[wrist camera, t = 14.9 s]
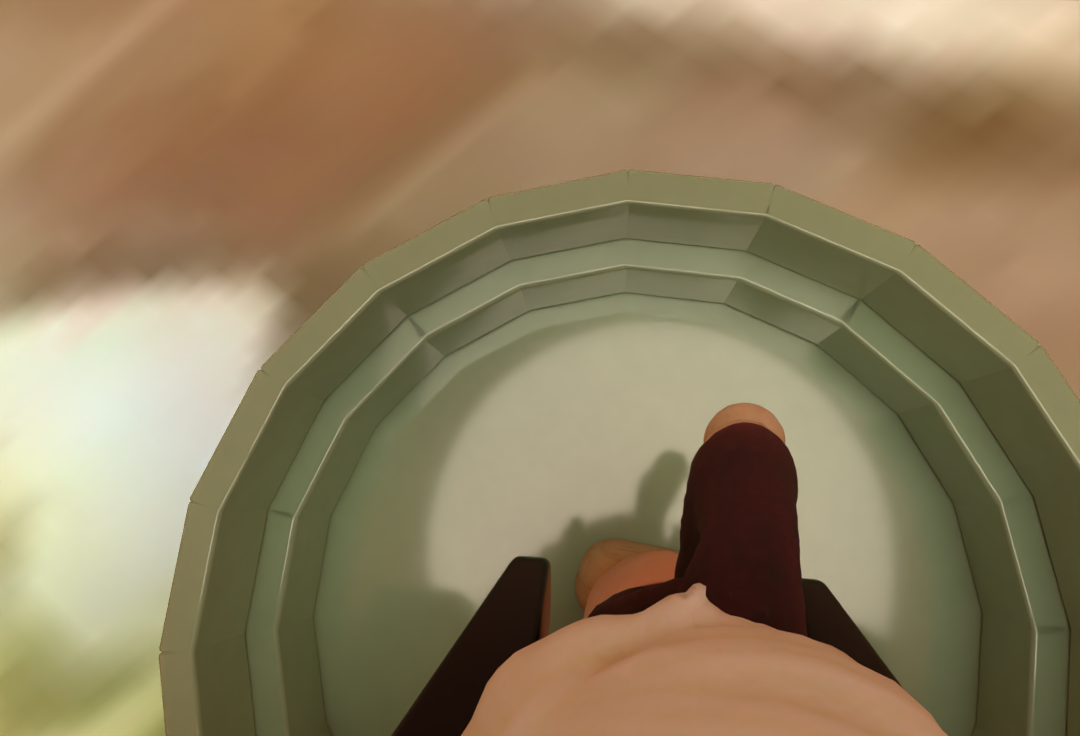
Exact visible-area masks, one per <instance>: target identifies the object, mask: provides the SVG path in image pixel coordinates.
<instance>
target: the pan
mask: <svg viewBox="0 0 1080 736" xmlns="http://www.w3.org/2000/svg"><path fill="white" fill-rule="evenodd" d="M1038 345H1039V343H1038V341H1037V340H1035V339H1034V338H1033V337H1032V336H1031V335H1029V334H1028V333H1027V332H1026V331H1024V330H1023V329H1022V328H1021V327H1019V326H1018V325H1017V324H1016V323H1015V322H1013V321H1012V320H1011V319H1010V318H1008V317H1007V316H1006V315H1005V314H1003V313H1002V312H1001V311H1000V310H999V309H997V308H996V307H995V306H994V305H992V304H991V303H990V302H989V301H987V300H986V299H985V298H984V297H983V296H981V295H980V294H979V293H978V292H976V291H975V290H974V289H973V288H972V287H970V286H969V285H968V284H967V283H965V282H964V281H963V280H962V279H960V278H959V277H958V276H957V275H956V274H954V273H953V272H952V271H951V270H949V269H948V268H947V267H946V266H944V265H943V264H942V263H941V262H940V261H938V260H937V259H936V258H935V257H933V256H932V255H931V254H930V253H929V252H927V251H926V250H925V249H924V248H922V247H921V246H920V245H917V244H916V245H915V242H914V241H912V240H910V239H907V238H905V237H902V236H900V235H897V234H895V233H893V232H890V231H888V230H885V229H883V228H880V227H878V226H876V225H873V224H871V223H868V222H866V221H864V220H861V219H859V218H856V217H854V216H851V215H849V214H847V213H844V212H842V211H839V210H837V209H834V208H832V207H830V206H827V205H825V204H822V203H820V202H817V201H815V200H813V199H810V198H808V197H805V196H803V195H801V194H798V193H796V192H793V191H791V190H788V189H786V188H784V187H781V186H779V185H775V186H774V184H772V183H762V182H752V181H741V180H731V179H721V178H711V177H701V176H691V175H680V174H670V173H660V172H650V171H640V170H628V172H627V171H626V170H623V171H618V172H613V173H608V174H603V175H598V176H593V177H588V178H584V179H579V180H574V181H569V182H564V183H559V184H554V185H549V186H544V187H539V188H534V189H529V190H524V191H519V192H514V193H509V194H504V195H499V196H494V197H490V198H488V200H486V199H485V200H482V201H480V202H478V203H476V204H475V205H473V206H471V207H469V208H467V209H465V210H463V211H462V212H460V213H458V214H456V215H454V216H452V217H451V218H449V219H447V220H445V221H443V222H441V223H439V224H438V225H436V226H434V227H432V228H430V229H428V230H426V231H425V232H423V233H421V234H419V235H417V236H415V237H413V238H412V239H410V240H408V241H406V242H404V243H402V244H400V245H399V246H397V247H395V248H393V249H391V250H389V251H388V252H386V253H384V254H382V255H380V256H378V257H376V258H375V259H373V260H371V261H369V262H367V263H365V264H364V265H363V268H359V269H358V270H357V271H356V272H355V273H354V274H353V275H352V276H351V277H350V278H349V279H348V280H347V281H346V282H345V283H344V284H343V285H342V286H341V287H340V288H339V289H338V290H337V291H336V292H335V293H334V294H333V295H332V296H331V297H330V298H329V299H328V300H327V301H326V302H325V303H324V304H323V305H322V306H321V307H320V308H319V309H318V310H317V311H316V312H315V313H314V314H313V315H312V316H311V317H310V318H309V319H308V320H307V321H306V322H305V323H304V324H303V325H302V326H301V327H300V328H299V329H298V330H297V331H296V332H295V333H294V334H293V335H292V336H291V337H290V338H289V339H288V340H287V341H286V342H285V343H284V344H283V345H282V346H281V347H280V348H279V349H278V350H277V351H276V352H275V353H274V354H273V355H272V356H271V357H270V358H269V359H268V361H267V362H266V363H265V364H264V365H263V366H262V367H261V369H262V370H258V371H257V373H256V375H255V377H254V379H253V381H252V382H251V384H250V386H249V388H248V390H247V392H246V394H245V396H244V397H243V399H242V401H241V403H240V405H239V407H238V409H237V411H236V413H235V414H234V416H233V418H232V420H231V422H230V424H229V426H228V428H227V429H226V431H225V433H224V435H223V437H222V439H221V441H220V443H219V445H218V446H217V448H216V450H215V452H214V454H213V456H212V458H211V460H210V461H209V463H208V465H207V467H206V469H205V471H204V473H203V475H202V477H201V478H200V480H199V482H198V484H197V486H196V488H195V490H194V492H193V494H192V495H191V497H190V500H191V502H190V503H189V505H188V509H187V514H186V519H185V524H184V529H183V534H182V539H181V544H180V549H179V554H178V559H177V564H176V569H175V574H174V579H173V583H172V588H171V593H170V598H169V603H168V608H167V613H166V618H165V623H164V628H163V633H162V638H161V643H160V651H161V653H160V655H159V664H160V675H161V686H162V698H163V709H164V721H165V732H166V736H391V735H392V733H393V732H394V730H395V729H396V727H397V726H398V725H399V723H400V722H401V720H402V719H403V717H404V716H405V714H406V713H407V711H408V710H409V709H410V707H411V706H412V704H413V703H414V701H415V700H416V698H417V697H418V696H419V694H420V693H421V691H422V690H423V688H424V687H425V685H426V684H427V682H428V681H429V680H430V678H431V677H432V675H433V674H434V672H435V671H436V669H437V668H438V666H439V665H440V664H441V662H442V661H443V659H444V658H445V656H446V655H447V653H448V652H449V651H450V649H451V648H452V646H453V645H454V643H455V642H456V640H457V639H458V637H459V636H460V635H461V633H462V632H463V630H464V629H465V627H466V626H467V624H468V623H469V622H470V620H471V619H472V617H473V616H474V614H475V613H476V611H477V610H478V608H479V607H480V606H481V604H482V603H483V601H484V600H485V598H486V597H487V595H488V594H489V592H490V591H491V590H492V588H493V587H494V585H495V584H496V582H497V581H498V579H499V578H500V577H501V575H502V574H503V572H504V571H505V569H506V568H507V566H508V565H509V563H510V562H511V561H512V560H513V559H514V558H515V557H517V556H530V557H543V558H546V559H548V560H549V562H550V566H551V609H550V624H549V635H550V634H552V633H554V632H556V631H557V630H559V629H561V628H563V627H565V626H567V625H570V624H572V623H574V622H577V621H579V620H581V619H583V617H584V612H585V611H584V610H583V609H582V607H581V606H580V604H579V602H578V600H577V597H576V593H575V579H576V575H577V572H578V569H579V566H580V563H581V560H582V558H583V556H584V555H585V553H586V552H587V551H588V549H589V548H590V547H591V546H592V545H594V544H595V543H597V542H599V541H602V540H605V539H623V540H628V541H633V542H638V543H643V544H648V545H654V546H659V547H664V548H668V549H673V550H677V551H680V528H681V522H680V521H681V518H682V515H683V505H684V497H685V494H686V488H687V481H688V477H689V473H690V467H691V462H692V460H693V458H694V456H695V454H696V453H697V451H698V449H699V448H700V447H701V446H702V445H703V444H704V434H705V430H706V428H707V425H708V424H709V422H710V421H711V420H712V418H713V417H714V416H715V414H716V413H718V412H719V411H720V410H722V409H723V408H725V407H727V406H728V405H732V404H737V403H752V404H756V405H759V406H762V407H763V408H765V409H767V410H769V411H770V412H771V413H772V414H774V415H775V417H776V418H777V420H778V421H779V423H780V424H781V425H782V427H783V430H784V434H785V439H786V440H785V445H786V446H787V447H788V449H789V451H790V453H791V455H792V457H793V460H794V464H795V467H796V472H797V479H798V499H797V503H796V508H797V515H798V532H799V539H800V544H799V545H800V564H801V573H802V578H809V579H817V580H820V581H822V582H823V583H824V584H825V585H826V586H827V587H828V588H829V590H830V591H831V592H832V594H833V595H834V596H835V598H836V599H837V600H838V602H839V603H840V604H841V606H842V607H843V608H844V610H845V611H846V612H847V614H848V615H849V616H850V618H851V619H852V620H853V622H854V623H855V624H856V626H857V627H858V628H859V630H860V631H861V632H862V634H863V635H864V636H865V638H866V639H867V640H868V642H869V643H870V644H871V646H872V647H873V648H874V650H875V651H876V652H877V654H878V655H879V656H880V658H881V659H882V660H883V662H884V663H885V664H886V666H887V667H888V668H889V670H890V671H891V672H892V674H893V675H894V676H895V678H896V679H897V680H898V682H899V683H900V684H901V686H902V687H903V688H904V690H905V691H906V692H907V693H908V694H909V695H910V696H912V697H913V698H914V699H915V700H916V701H917V702H918V703H919V704H920V705H922V706H923V707H924V708H925V709H926V710H927V711H928V712H929V713H930V714H931V715H932V716H933V718H934V719H935V721H936V722H937V723H938V725H939V726H940V728H941V729H942V730H943V731H944V732H945V733H946V734H947V735H948V736H1080V401H1079V399H1078V398H1077V396H1076V395H1075V393H1074V392H1073V390H1072V389H1071V388H1070V386H1069V385H1068V383H1067V382H1066V380H1065V379H1064V377H1063V376H1062V374H1061V373H1060V371H1059V370H1058V368H1057V367H1056V365H1055V364H1054V362H1053V361H1052V359H1051V358H1050V356H1049V355H1048V354H1047V352H1046V351H1045V349H1044V348H1043V347H1042V346H1038Z"/></svg>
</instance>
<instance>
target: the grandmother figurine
mask: <svg viewBox="0 0 1080 736" xmlns="http://www.w3.org/2000/svg"><path fill="white" fill-rule="evenodd" d="M785 440H786V439H785V434H784V430H783V427H782V425H781V424H780V423H779V421H778V420H777V418H776V417H775V415H774V414H772V413H771V412H770V411H769V410H767V409H765V408H763V407H762V406H759V405H756V404H752V403H737V404H732V405H728V406H727V407H725V408H723V409H722V410H720V411H719V412H718V413H716V414H715V416H714V417H713V418H712V420H711V421H710V422H709V424H708V425H707V428H706V430H705V434H704V444H703V445H702V446H701V447H700V448H699V449H698V451H697V453H696V454H695V456H694V458H693V460H692V462H691V467H690V473H689V477H688V481H687V488H686V494H685V497H684V505H683V515H682V518H681V521H680V522H681V528H680V551H677V550H673V549H668V548H664V547H659V546H654V545H648V544H643V543H638V542H633V541H628V540H623V539H605V540H602V541H599V542H597V543H595V544H594V545H592V546H591V547H590V548H589V549H588V551H587V552H586V553H585V555H584V556H583V558H582V560H581V563H580V566H579V569H578V572H577V575H576V579H575V593H576V597H577V600H578V602H579V604H580V606H581V607H582V609H583V610H584V611H585V612H584V617H583V619H581V620H579V621H577V622H574V623H572V624H570V625H567V626H565V627H563V628H561V629H559V630H557V631H556V632H554V633H552V634H550V635H548V636H546V637H544V638H542V639H540V640H538V641H536V642H535V643H533V644H531V645H529V646H527V647H525V648H523V649H521V650H519V651H517V652H515V653H514V654H513V655H512V656H511V657H509V658H508V659H507V660H506V661H505V662H504V663H503V664H502V665H501V666H500V667H499V668H498V669H497V670H496V671H495V673H494V674H493V676H492V677H491V678H490V680H489V681H488V682H487V684H486V686H485V689H484V691H483V693H482V696H481V698H480V700H479V703H478V705H477V707H476V710H475V712H474V714H473V716H472V719H471V721H470V722H469V724H468V726H467V727H466V729H465V730H464V732H463V733H462V735H461V736H948V735H947V734H946V733H945V732H944V731H943V730H942V729H941V728H940V726H939V725H938V723H937V722H936V721H935V719H934V718H933V716H932V715H931V714H930V713H929V712H928V711H927V710H926V709H925V708H924V707H923V706H922V705H920V704H919V703H918V702H917V701H916V700H915V699H914V698H913V697H912V696H910V695H909V694H908V693H907V692H906V691H905V690H904V689H903V688H902V687H900V686H899V685H898V684H897V683H896V682H895V681H893V680H891V679H889V678H887V677H885V676H883V675H881V674H879V673H877V672H875V671H873V670H871V669H869V668H867V667H865V666H863V665H861V664H859V663H857V662H856V661H855V660H853V659H852V658H851V657H849V656H848V655H847V654H845V653H844V652H842V651H840V650H838V649H837V648H835V647H833V646H831V645H828V644H825V643H822V642H819V641H815V640H813V639H811V638H808V635H807V628H806V617H805V603H804V596H803V589H802V573H801V564H800V545H799V544H800V539H799V532H798V515H797V508H796V503H797V499H798V479H797V472H796V467H795V464H794V460H793V457H792V455H791V453H790V451H789V449H788V447H787V446H786V445H785Z"/></svg>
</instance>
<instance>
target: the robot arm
mask: <svg viewBox="0 0 1080 736" xmlns="http://www.w3.org/2000/svg"><path fill="white" fill-rule="evenodd" d="M802 589H803V596H804V603H805V617H806V628H807V635H808V638H811V639H813V640H815V641H819V642H822V643H825V644H828V645H831V646H833V647H835V648H837V649H838V650H840V651H842V652H844V653H845V654H847V655H848V656H849V657H851V658H852V659H853V660H855V661H856V662H857V663H859V664H861V665H863V666H865V667H867V668H869V669H871V670H873V671H875V672H877V673H879V674H881V675H883V676H885V677H887V678H889V679H891V680H893V681H895V682H896V683H897V684H898V685H899V686H900V687H902V686H901V684H900V683H899V682H898V680H897V679H896V678H895V676H894V675H893V674H892V672H891V671H890V670H889V668H888V667H887V666H886V664H885V663H884V662H883V660H882V659H881V658H880V656H879V655H878V654H877V652H876V651H875V650H874V648H873V647H872V646H871V644H870V643H869V642H868V640H867V639H866V638H865V636H864V635H863V634H862V632H861V631H860V630H859V628H858V627H857V626H856V624H855V623H854V622H853V620H852V619H851V618H850V616H849V615H848V614H847V612H846V611H845V610H844V608H843V607H842V606H841V604H840V603H839V602H838V600H837V599H836V598H835V596H834V595H833V594H832V592H831V591H830V590H829V588H828V587H827V586H826V585H825V584H824V583H823V582H822V581H820V580H817V579H809V578H802ZM550 609H551V566H550V562H549V560H548V559H546V558H543V557H530V556H517V557H515V558H514V559H513V560H512V561H511V562H510V563H509V565H508V566H507V568H506V569H505V571H504V572H503V574H502V575H501V577H500V578H499V579H498V581H497V582H496V584H495V585H494V587H493V588H492V590H491V591H490V592H489V594H488V595H487V597H486V598H485V600H484V601H483V603H482V604H481V606H480V607H479V608H478V610H477V611H476V613H475V614H474V616H473V617H472V619H471V620H470V622H469V623H468V624H467V626H466V627H465V629H464V630H463V632H462V633H461V635H460V636H459V637H458V639H457V640H456V642H455V643H454V645H453V646H452V648H451V649H450V651H449V652H448V653H447V655H446V656H445V658H444V659H443V661H442V662H441V664H440V665H439V666H438V668H437V669H436V671H435V672H434V674H433V675H432V677H431V678H430V680H429V681H428V682H427V684H426V685H425V687H424V688H423V690H422V691H421V693H420V694H419V696H418V697H417V698H416V700H415V701H414V703H413V704H412V706H411V707H410V709H409V710H408V711H407V713H406V714H405V716H404V717H403V719H402V720H401V722H400V723H399V725H398V726H397V727H396V729H395V730H394V732H393V733H392V735H391V736H461V735H462V733H463V732H464V730H465V729H466V727H467V726H468V724H469V722H470V721H471V719H472V716H473V714H474V712H475V710H476V707H477V705H478V703H479V700H480V698H481V696H482V693H483V691H484V689H485V686H486V684H487V682H488V681H489V680H490V678H491V677H492V676H493V674H494V673H495V671H496V670H497V669H498V668H499V667H500V666H501V665H502V664H503V663H504V662H505V661H506V660H507V659H508V658H509V657H511V656H512V655H513V654H514V653H515V652H517V651H519V650H521V649H523V648H525V647H527V646H529V645H531V644H533V643H535V642H536V641H538V640H540V639H542V638H544V637H546V636H548V635H549V624H550ZM902 688H903V687H902ZM903 689H904V688H903Z"/></svg>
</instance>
